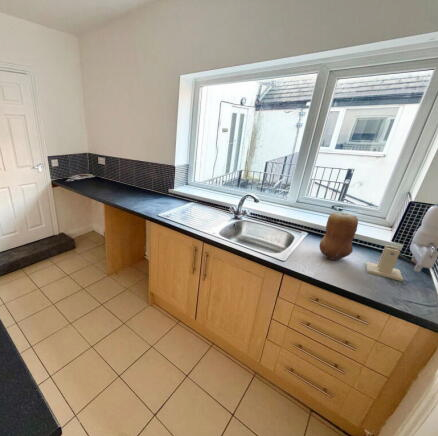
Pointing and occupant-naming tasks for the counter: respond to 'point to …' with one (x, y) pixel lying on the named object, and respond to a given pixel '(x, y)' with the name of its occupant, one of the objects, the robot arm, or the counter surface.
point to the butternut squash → (339, 235)
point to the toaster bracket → (386, 264)
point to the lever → (406, 259)
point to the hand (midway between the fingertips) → (414, 267)
